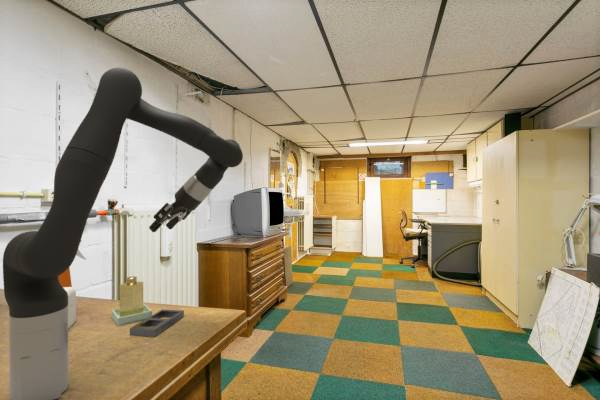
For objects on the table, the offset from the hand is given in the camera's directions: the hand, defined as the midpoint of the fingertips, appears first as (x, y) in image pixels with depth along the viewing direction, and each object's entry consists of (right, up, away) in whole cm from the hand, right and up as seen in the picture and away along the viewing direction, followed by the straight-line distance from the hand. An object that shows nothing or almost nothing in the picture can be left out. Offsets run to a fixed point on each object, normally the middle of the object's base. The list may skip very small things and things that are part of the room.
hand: (160, 228), depth 97 cm
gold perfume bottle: (-13, -30, +7) cm, 33 cm away
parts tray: (-13, -31, +7) cm, 34 cm away
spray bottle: (-35, -31, +8) cm, 47 cm away
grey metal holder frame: (-1, -31, +1) cm, 31 cm away
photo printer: (-30, -31, -1) cm, 43 cm away
